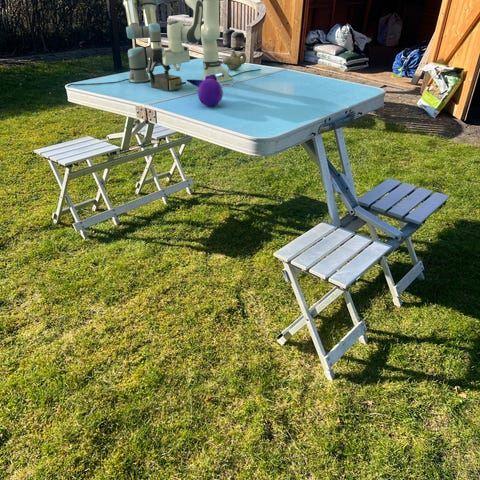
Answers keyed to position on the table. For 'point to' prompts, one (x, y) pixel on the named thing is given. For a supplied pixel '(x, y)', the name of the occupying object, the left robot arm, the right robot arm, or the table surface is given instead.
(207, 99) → the toy
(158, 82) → the brown wooden slab
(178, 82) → the drawer
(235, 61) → the teapot
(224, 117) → the table surface
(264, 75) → the table surface
